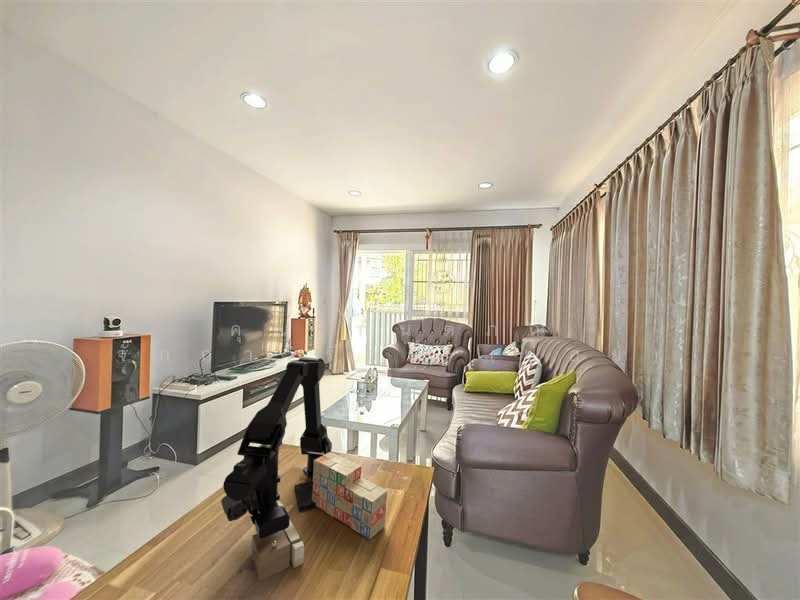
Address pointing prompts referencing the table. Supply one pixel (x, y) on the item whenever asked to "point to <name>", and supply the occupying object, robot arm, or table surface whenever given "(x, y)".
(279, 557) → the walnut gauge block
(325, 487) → the stack of blocks
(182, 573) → the table surface
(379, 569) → the table surface
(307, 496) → the handheld gaming console
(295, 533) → the rail
